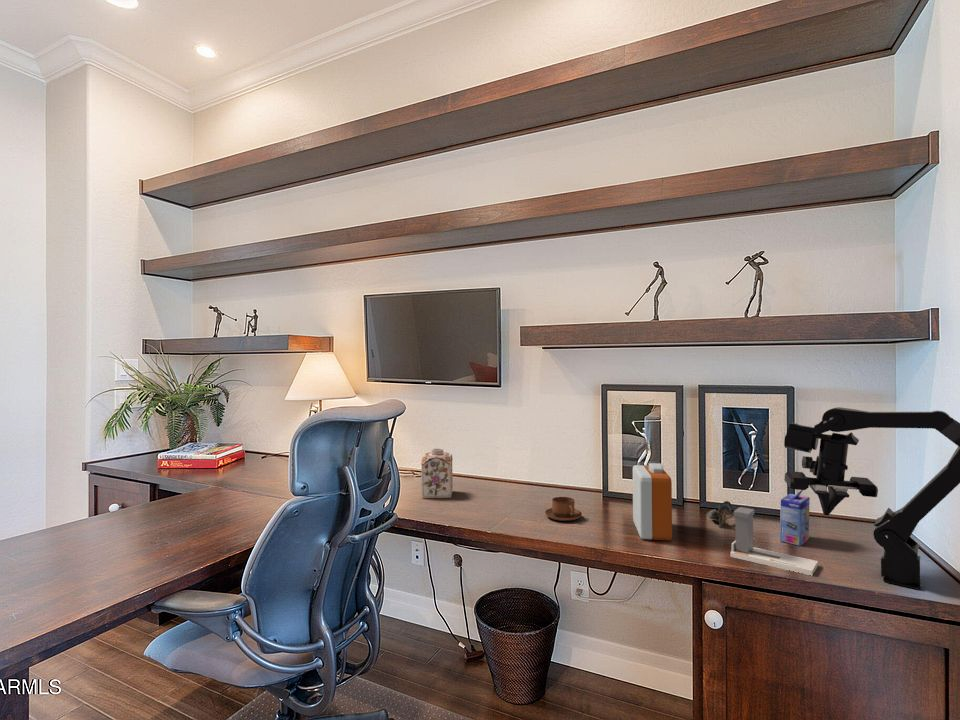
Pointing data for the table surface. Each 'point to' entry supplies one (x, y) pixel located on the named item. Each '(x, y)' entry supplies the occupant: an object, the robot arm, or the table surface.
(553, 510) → the cup and saucer
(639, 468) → the alarm clock
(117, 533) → the table surface
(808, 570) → the switch unit
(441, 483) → the decorative jar
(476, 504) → the table surface
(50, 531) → the table surface
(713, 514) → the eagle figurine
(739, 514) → the switch knob
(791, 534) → the ink cartridge box
